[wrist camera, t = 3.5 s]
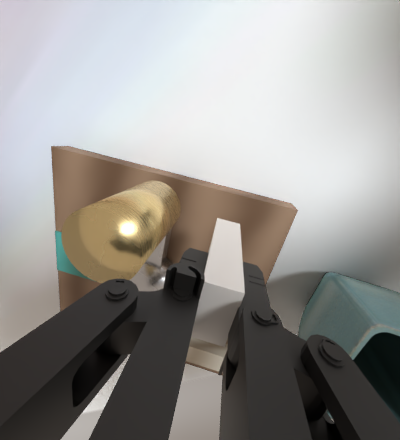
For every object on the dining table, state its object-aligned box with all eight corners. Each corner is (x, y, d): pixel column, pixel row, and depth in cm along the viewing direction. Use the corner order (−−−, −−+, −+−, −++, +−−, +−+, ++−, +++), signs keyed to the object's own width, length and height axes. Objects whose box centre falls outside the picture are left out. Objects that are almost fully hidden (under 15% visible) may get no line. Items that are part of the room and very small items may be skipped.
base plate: (291, 203, 18) (304, 216, 15) (226, 360, 27) (225, 391, 23) (68, 146, 20) (34, 146, 17) (72, 310, 28) (50, 333, 25)
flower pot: (315, 247, 19) (376, 324, 11) (409, 275, 19) (547, 378, 11) (280, 313, 23) (305, 411, 14) (359, 338, 22) (433, 455, 14)
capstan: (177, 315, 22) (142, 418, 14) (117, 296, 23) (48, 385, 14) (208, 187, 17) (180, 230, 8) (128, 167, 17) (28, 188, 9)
